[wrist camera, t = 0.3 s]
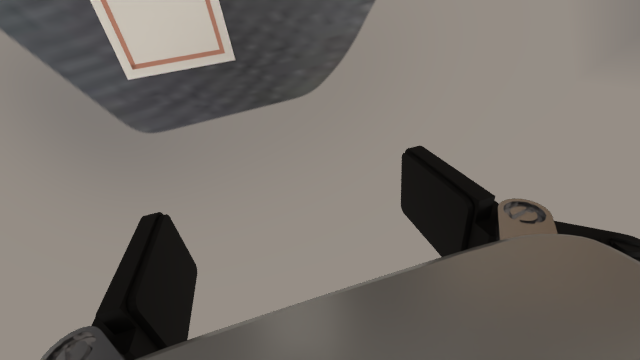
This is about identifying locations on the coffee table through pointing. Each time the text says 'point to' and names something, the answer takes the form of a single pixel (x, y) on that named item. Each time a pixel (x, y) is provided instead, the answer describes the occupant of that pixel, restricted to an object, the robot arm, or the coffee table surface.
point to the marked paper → (164, 34)
